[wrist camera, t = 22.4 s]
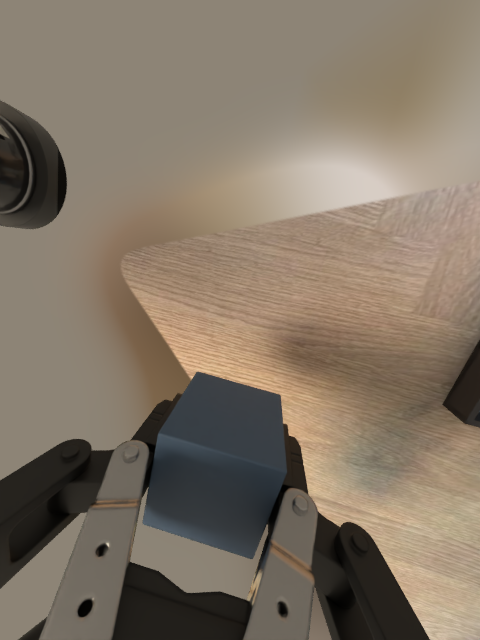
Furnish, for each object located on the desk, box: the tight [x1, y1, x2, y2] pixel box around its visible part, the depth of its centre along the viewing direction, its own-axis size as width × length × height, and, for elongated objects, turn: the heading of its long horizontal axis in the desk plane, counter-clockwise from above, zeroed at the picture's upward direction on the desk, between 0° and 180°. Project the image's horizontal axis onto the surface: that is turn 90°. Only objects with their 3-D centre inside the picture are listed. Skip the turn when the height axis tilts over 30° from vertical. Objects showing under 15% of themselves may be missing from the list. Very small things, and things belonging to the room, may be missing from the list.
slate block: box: [143, 372, 287, 559], centre depth 11 cm, size 5×5×5 cm
